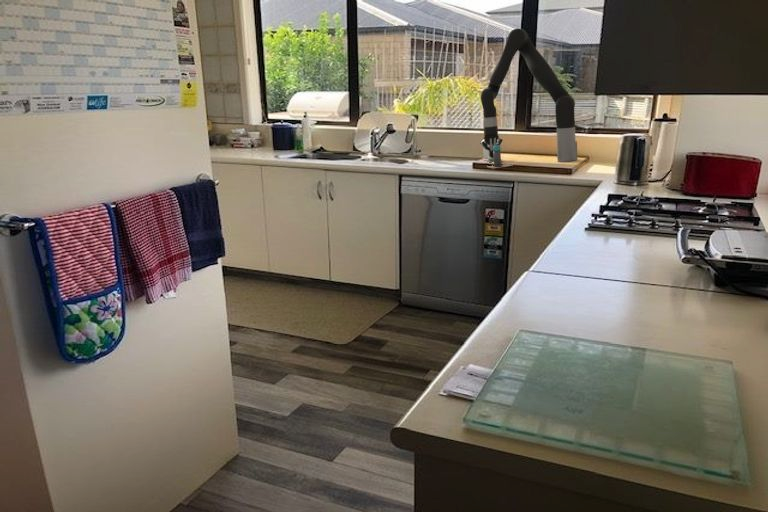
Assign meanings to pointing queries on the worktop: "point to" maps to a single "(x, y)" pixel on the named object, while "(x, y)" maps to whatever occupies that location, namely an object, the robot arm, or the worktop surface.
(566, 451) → the worktop surface
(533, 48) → the robot arm
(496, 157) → the marker
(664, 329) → the worktop surface
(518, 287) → the worktop surface
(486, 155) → the jar
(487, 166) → the paper
